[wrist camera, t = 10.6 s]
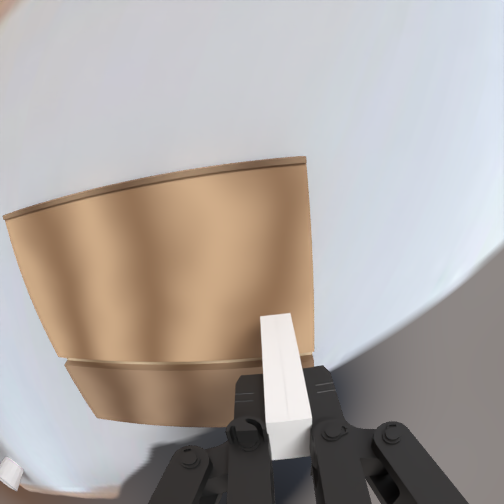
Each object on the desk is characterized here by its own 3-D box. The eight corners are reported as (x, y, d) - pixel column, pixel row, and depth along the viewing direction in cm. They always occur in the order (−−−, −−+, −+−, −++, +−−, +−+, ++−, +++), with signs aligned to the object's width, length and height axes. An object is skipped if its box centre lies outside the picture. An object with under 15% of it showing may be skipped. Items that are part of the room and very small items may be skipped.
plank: (64, 348, 20) (57, 358, 19) (14, 210, 16) (2, 215, 15) (311, 340, 19) (314, 353, 18) (301, 155, 15) (305, 156, 14)
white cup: (15, 460, 36) (4, 480, 29) (30, 475, 38) (21, 494, 31) (-2, 451, 36) (-12, 470, 29) (14, 466, 38) (5, 484, 32)
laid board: (101, 409, 23) (97, 418, 22) (68, 352, 21) (62, 361, 20) (310, 409, 22) (312, 420, 21) (311, 345, 20) (313, 356, 19)
